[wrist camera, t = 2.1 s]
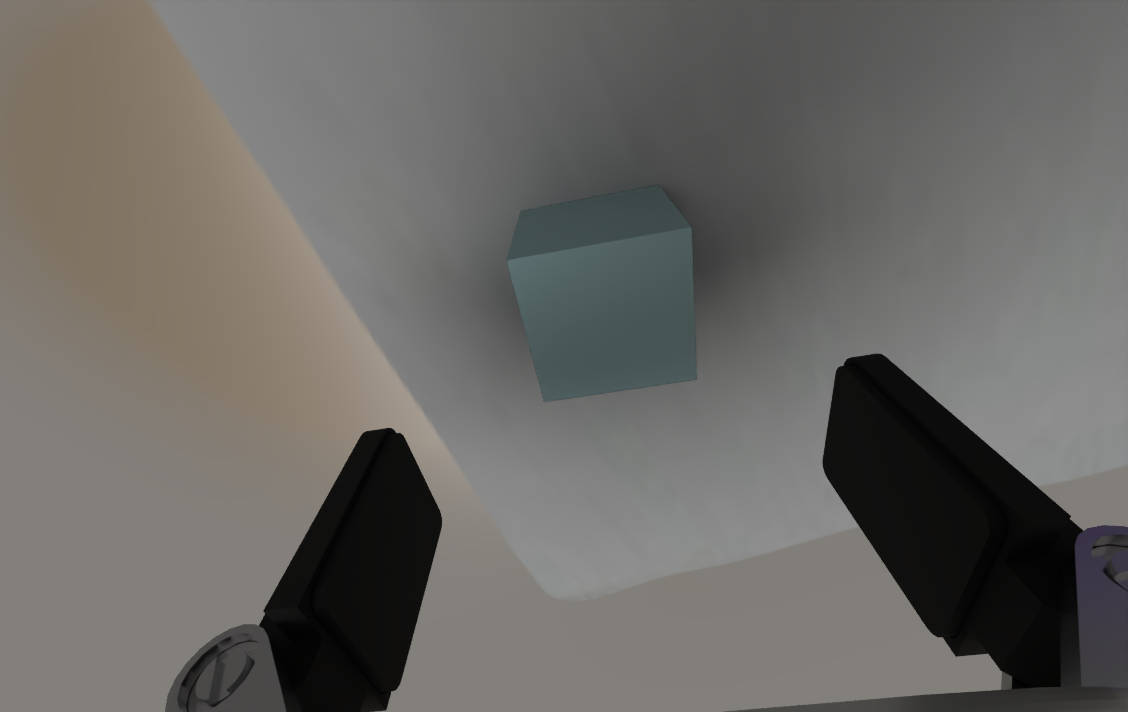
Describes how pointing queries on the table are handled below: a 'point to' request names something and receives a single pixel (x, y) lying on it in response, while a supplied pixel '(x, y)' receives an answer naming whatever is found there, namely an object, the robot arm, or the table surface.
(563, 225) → the teal cube
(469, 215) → the table surface
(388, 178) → the table surface
